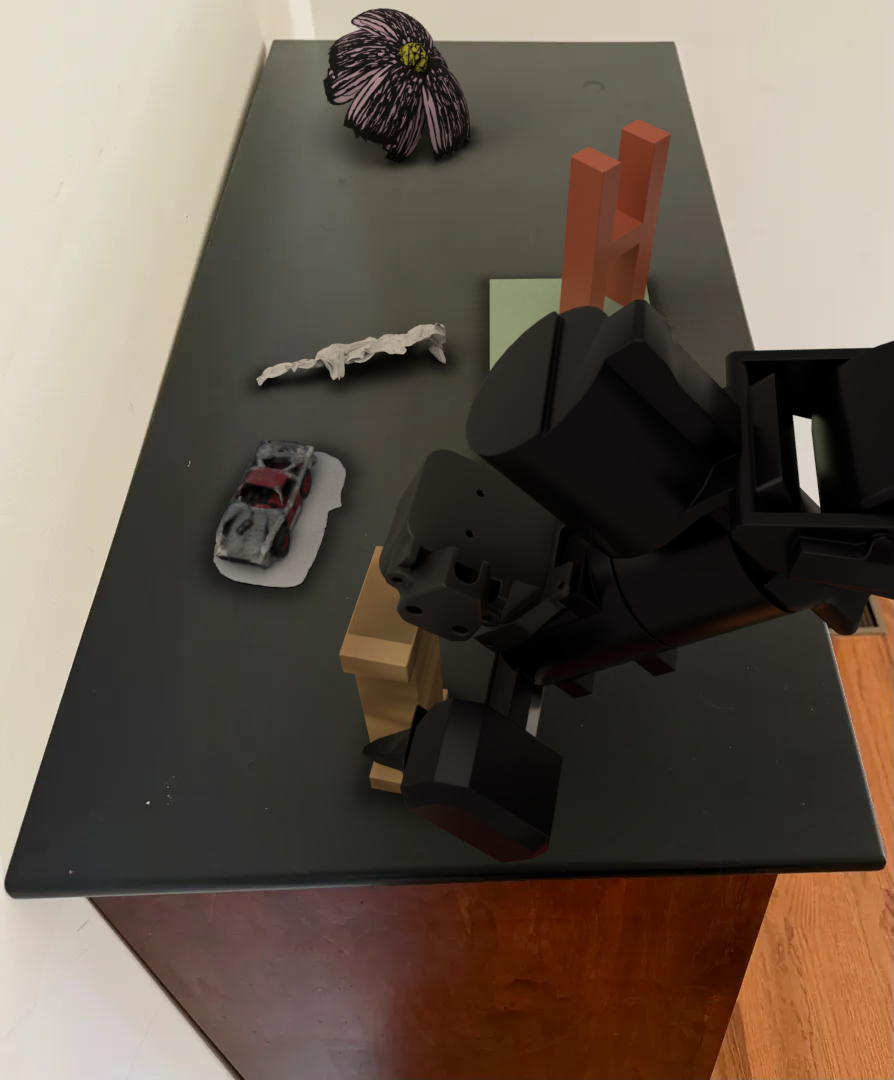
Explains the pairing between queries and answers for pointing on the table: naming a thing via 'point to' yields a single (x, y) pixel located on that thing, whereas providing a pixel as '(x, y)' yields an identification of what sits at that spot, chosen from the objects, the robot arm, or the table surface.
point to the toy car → (278, 514)
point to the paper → (365, 351)
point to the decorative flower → (396, 86)
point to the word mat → (525, 309)
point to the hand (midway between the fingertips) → (395, 669)
